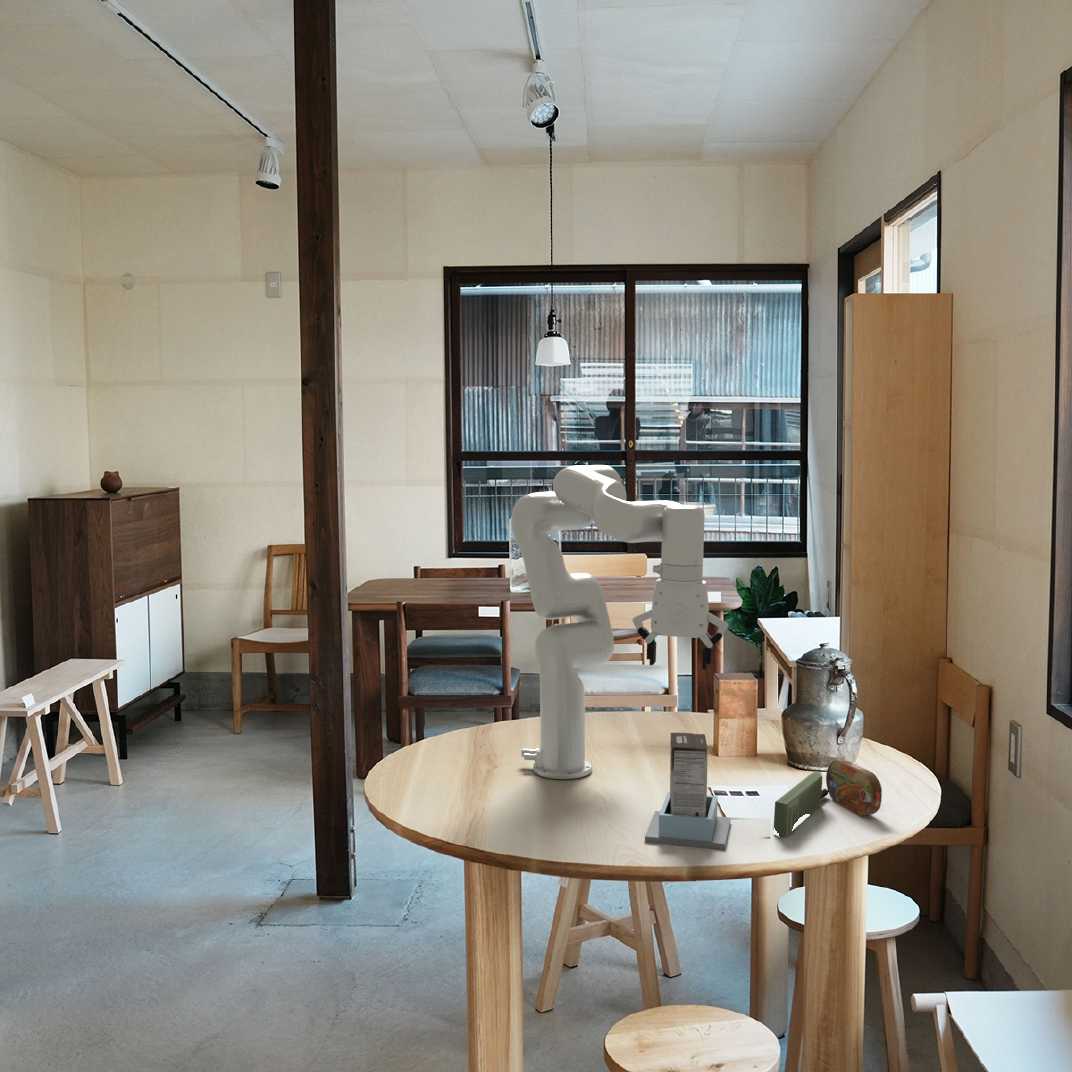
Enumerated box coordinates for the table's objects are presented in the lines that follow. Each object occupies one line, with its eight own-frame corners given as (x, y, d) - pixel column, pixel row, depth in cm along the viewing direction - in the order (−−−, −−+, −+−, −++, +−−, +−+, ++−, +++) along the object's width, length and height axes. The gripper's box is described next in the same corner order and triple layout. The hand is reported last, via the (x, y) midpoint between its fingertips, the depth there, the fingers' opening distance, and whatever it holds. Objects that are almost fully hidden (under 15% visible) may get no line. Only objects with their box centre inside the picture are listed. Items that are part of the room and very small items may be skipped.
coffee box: (669, 816, 194) (670, 731, 192) (704, 818, 193) (705, 732, 192) (670, 835, 185) (671, 746, 183) (706, 836, 184) (708, 747, 183)
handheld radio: (769, 836, 188) (816, 796, 208) (787, 840, 186) (832, 799, 207) (771, 800, 187) (818, 763, 208) (789, 804, 185) (834, 767, 206)
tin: (824, 796, 208) (825, 754, 207) (838, 794, 209) (839, 753, 208) (869, 822, 194) (870, 778, 193) (884, 820, 195) (885, 776, 194)
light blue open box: (644, 841, 184) (644, 814, 184) (655, 816, 197) (655, 790, 196) (725, 849, 181) (725, 821, 180) (730, 822, 193) (730, 796, 193)
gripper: (630, 573, 188) (628, 666, 190) (728, 579, 183) (724, 674, 185) (637, 567, 195) (635, 657, 197) (731, 572, 191) (728, 664, 193)
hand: (678, 665), depth 191 cm, fingers open, 9 cm apart
